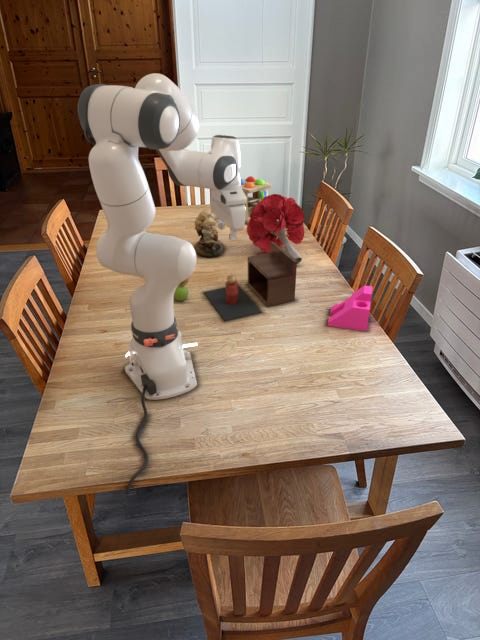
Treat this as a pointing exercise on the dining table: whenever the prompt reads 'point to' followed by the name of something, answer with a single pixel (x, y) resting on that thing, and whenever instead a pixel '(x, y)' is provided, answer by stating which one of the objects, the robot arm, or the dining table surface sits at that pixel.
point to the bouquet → (277, 224)
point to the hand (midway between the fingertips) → (226, 234)
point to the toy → (231, 289)
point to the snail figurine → (181, 291)
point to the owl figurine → (207, 235)
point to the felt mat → (232, 310)
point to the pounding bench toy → (258, 190)
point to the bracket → (353, 310)
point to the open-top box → (273, 276)
